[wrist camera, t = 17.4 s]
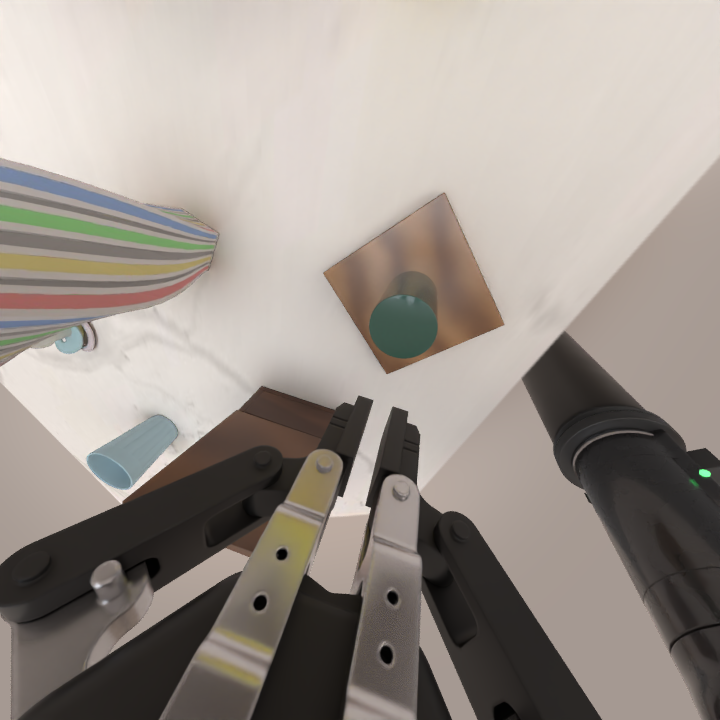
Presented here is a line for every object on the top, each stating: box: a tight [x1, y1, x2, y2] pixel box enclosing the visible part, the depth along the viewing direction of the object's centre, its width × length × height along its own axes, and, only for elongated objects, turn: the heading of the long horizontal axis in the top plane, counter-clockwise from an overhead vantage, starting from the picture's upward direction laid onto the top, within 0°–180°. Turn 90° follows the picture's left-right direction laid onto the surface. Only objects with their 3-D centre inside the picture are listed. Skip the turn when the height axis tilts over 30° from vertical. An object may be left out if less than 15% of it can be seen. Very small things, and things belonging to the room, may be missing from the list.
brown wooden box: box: [239, 386, 335, 439], centre depth 43 cm, size 15×13×6 cm
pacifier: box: [30, 323, 95, 354], centre depth 43 cm, size 7×6×6 cm
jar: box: [369, 271, 438, 359], centre depth 27 cm, size 5×5×9 cm
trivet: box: [323, 193, 504, 374], centre depth 31 cm, size 14×14×1 cm
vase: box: [0, 158, 219, 367], centre depth 21 cm, size 14×14×30 cm
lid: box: [123, 410, 321, 557], centre depth 29 cm, size 15×13×1 cm
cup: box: [87, 415, 178, 490], centre depth 48 cm, size 8×8×10 cm
